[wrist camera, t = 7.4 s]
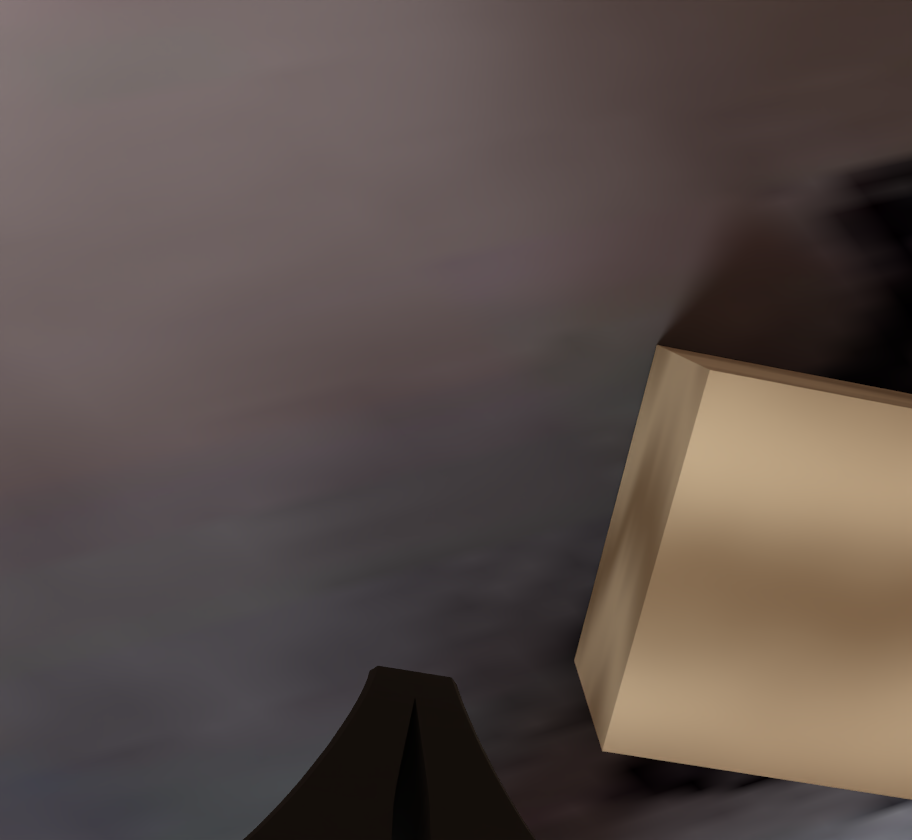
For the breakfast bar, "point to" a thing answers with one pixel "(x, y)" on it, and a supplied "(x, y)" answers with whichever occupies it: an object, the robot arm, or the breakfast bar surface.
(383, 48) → the breakfast bar surface
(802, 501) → the beige bevelled block
